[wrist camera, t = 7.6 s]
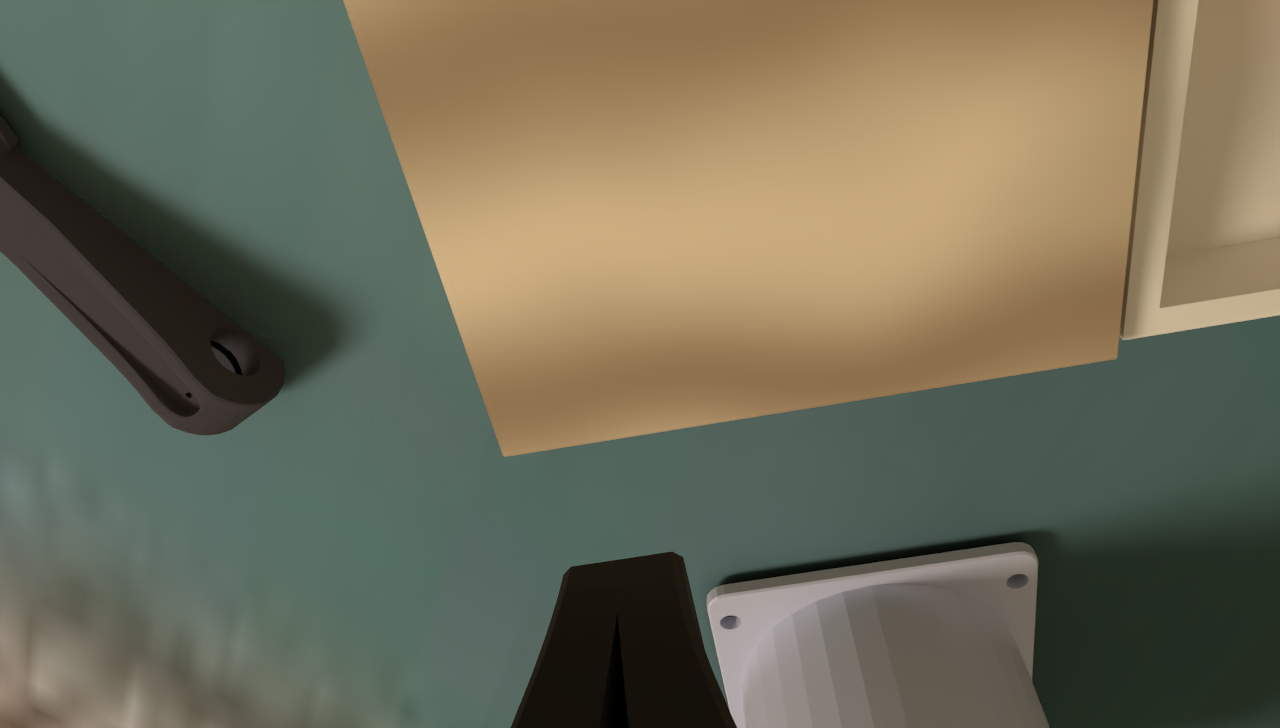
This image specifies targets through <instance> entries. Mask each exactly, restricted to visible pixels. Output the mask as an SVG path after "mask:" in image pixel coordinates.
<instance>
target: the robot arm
mask: <svg viewBox="0 0 1280 728" xmlns="http://www.w3.org/2000/svg"><path fill="white" fill-rule="evenodd" d="M1016 574H1018V575H1016ZM1013 575H1015V576H1013ZM1037 580H1038V559H1037V556H1036V554H1035V552H1034V549H1033V548H1032V547H1031V546H1030V545H1029V544H1026V543H1023V542H1011V543H1005V544H998V545H991V546H984V547H977V548H971V549H964V550H957V551H950V552H943V553H936V554H930V555H923V556H916V557H909V558H902V559H895V560H889V561H882V562H875V563H868V564H861V565H854V566H848V567H841V568H834V569H827V570H820V571H813V572H807V573H800V574H793V575H786V576H779V577H773V578H766V579H759V580H752V581H745V582H738V583H732V584H725V585H721V586H717V587H715V588H714V589H712V590H711V591H710V592H709V594H708V595H707V611H708V615H709V620H710V624H711V629H712V633H713V638H714V642H715V647H716V651H717V655H718V660H719V664H720V669H721V673H722V678H723V682H724V687H725V691H726V696H727V700H728V705H729V709H730V711H729V709H728V706H727V704H726V701H725V699H724V697H723V694H722V692H721V690H720V687H719V685H718V682H717V680H716V678H715V675H714V673H713V671H712V668H711V666H710V663H709V660H708V658H707V655H706V652H705V649H704V645H703V640H702V636H701V632H700V628H699V623H698V619H697V615H696V610H695V606H694V602H693V598H692V593H691V589H690V585H689V580H688V576H687V572H686V568H685V563H684V559H683V557H681V556H679V555H678V554H676V553H674V552H667V553H660V554H654V555H647V556H640V557H634V558H627V559H620V560H614V561H607V562H600V563H594V564H587V565H580V566H574V567H570V568H569V570H568V571H567V572H566V573H565V574H564V576H563V579H562V583H561V587H560V591H559V595H558V598H557V602H556V605H555V608H554V612H553V615H552V618H551V621H550V625H549V628H548V631H547V634H546V637H545V640H544V642H543V645H542V648H541V651H540V654H539V657H538V659H537V662H536V665H535V668H534V671H533V673H532V676H531V678H530V681H529V683H528V686H527V688H526V691H525V693H524V696H523V698H522V701H521V703H520V706H519V708H518V711H517V713H516V716H515V718H514V721H513V723H512V726H511V728H1050V727H1049V724H1048V722H1047V719H1046V716H1045V714H1044V711H1043V709H1042V706H1041V704H1040V701H1039V698H1038V696H1037V693H1036V691H1035V688H1034V686H1033V683H1032V672H1033V653H1034V635H1035V617H1036V598H1037ZM729 615H731V616H732V617H726V616H729Z"/></svg>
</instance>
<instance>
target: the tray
mask: <svg viewBox="0 0 1280 728" xmlns="http://www.w3.org/2000/svg"><path fill="white" fill-rule="evenodd" d="M1277 315H1280V0H1153V9H1152V19H1151V29H1150V38H1149V48H1148V58H1147V68H1146V78H1145V88H1144V97H1143V107H1142V117H1141V127H1140V137H1139V146H1138V156H1137V166H1136V176H1135V186H1134V196H1133V205H1132V215H1131V225H1130V235H1129V245H1128V255H1127V264H1126V274H1125V284H1124V294H1123V304H1122V314H1121V323H1120V333H1119V335H1120V337H1121V338H1122V340H1128V339H1134V338H1140V337H1147V336H1153V335H1159V334H1165V333H1171V332H1178V331H1184V330H1190V329H1196V328H1202V327H1209V326H1215V325H1221V324H1227V323H1233V322H1240V321H1246V320H1252V319H1258V318H1264V317H1271V316H1277Z"/></svg>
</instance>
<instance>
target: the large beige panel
mask: <svg viewBox="0 0 1280 728" xmlns="http://www.w3.org/2000/svg"><path fill="white" fill-rule="evenodd" d="M343 1H344V4H345V7H346V9H347V12H348V15H349V18H350V21H351V24H352V26H353V29H354V32H355V35H356V38H357V41H358V44H359V46H360V49H361V52H362V55H363V58H364V61H365V64H366V66H367V69H368V72H369V75H370V78H371V81H372V83H373V86H374V89H375V92H376V95H377V98H378V101H379V103H380V106H381V109H382V112H383V115H384V118H385V121H386V123H387V126H388V129H389V132H390V135H391V138H392V140H393V143H394V146H395V149H396V152H397V155H398V158H399V160H400V163H401V166H402V169H403V172H404V175H405V178H406V180H407V183H408V186H409V189H410V192H411V195H412V197H413V200H414V203H415V206H416V209H417V212H418V215H419V217H420V220H421V223H422V226H423V229H424V232H425V235H426V237H427V240H428V243H429V246H430V249H431V252H432V254H433V257H434V260H435V263H436V266H437V269H438V272H439V274H440V277H441V280H442V283H443V286H444V289H445V292H446V294H447V297H448V300H449V303H450V306H451V309H452V311H453V314H454V317H455V320H456V323H457V326H458V329H459V331H460V334H461V337H462V340H463V343H464V346H465V349H466V351H467V354H468V357H469V360H470V363H471V366H472V368H473V371H474V374H475V377H476V380H477V383H478V386H479V388H480V391H481V394H482V397H483V400H484V403H485V406H486V408H487V411H488V414H489V417H490V420H491V423H492V425H493V428H494V431H495V434H496V437H497V440H498V443H499V445H500V448H501V451H502V454H503V457H507V456H513V455H519V454H525V453H532V452H538V451H544V450H550V449H557V448H563V447H569V446H575V445H582V444H588V443H594V442H600V441H607V440H613V439H619V438H625V437H632V436H638V435H644V434H650V433H657V432H663V431H669V430H675V429H682V428H688V427H694V426H700V425H707V424H713V423H719V422H725V421H732V420H738V419H744V418H750V417H757V416H763V415H769V414H775V413H782V412H788V411H794V410H800V409H807V408H813V407H819V406H825V405H832V404H838V403H844V402H850V401H857V400H863V399H869V398H875V397H882V396H888V395H894V394H900V393H906V392H913V391H919V390H925V389H931V388H938V387H944V386H950V385H956V384H963V383H969V382H975V381H981V380H988V379H994V378H1000V377H1006V376H1013V375H1019V374H1025V373H1031V372H1038V371H1044V370H1050V369H1056V368H1063V367H1069V366H1075V365H1081V364H1088V363H1094V362H1100V361H1106V360H1113V359H1117V353H1118V343H1119V333H1120V323H1121V314H1122V304H1123V294H1124V284H1125V274H1126V264H1127V255H1128V245H1129V235H1130V225H1131V215H1132V205H1133V196H1134V186H1135V176H1136V166H1137V156H1138V146H1139V137H1140V127H1141V117H1142V107H1143V97H1144V88H1145V78H1146V68H1147V58H1148V48H1149V38H1150V29H1151V19H1152V9H1153V0H343Z"/></svg>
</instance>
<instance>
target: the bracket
mask: <svg viewBox="0 0 1280 728" xmlns="http://www.w3.org/2000/svg"><path fill="white" fill-rule="evenodd" d="M17 144H18V138H17V137H16V135H15V134H14V133H13V131H12V130H11V128H10V127H9V126H8V124H7V123H6V122H5V120H4V119H3V118H2V117H1V115H0V252H2V253H3V254H4V255H5V256H6V257H7V258H8V259H9V260H10V261H12V262H13V263H14V264H15V265H16V266H17V267H18V268H19V269H20V270H21V271H22V272H23V273H24V274H25V275H26V276H27V277H28V278H29V280H30V281H31V282H32V283H33V284H34V285H35V286H36V287H37V288H38V289H39V290H40V291H41V292H42V293H43V294H44V295H45V296H46V297H47V298H48V299H49V300H50V301H51V302H52V303H53V304H54V305H55V306H56V307H57V308H58V309H59V310H60V311H61V312H62V313H63V314H64V315H65V316H66V317H67V318H68V319H69V320H70V321H71V322H72V323H73V324H74V325H75V326H76V327H77V328H78V329H79V330H80V331H81V332H82V333H83V334H84V335H85V336H86V337H87V338H88V339H89V340H90V341H91V342H92V343H93V344H94V345H95V346H96V347H97V348H98V349H99V350H100V351H101V352H102V353H103V354H104V355H105V356H106V357H107V358H108V360H109V361H110V362H111V363H112V364H113V365H114V366H115V367H116V368H117V369H118V370H119V371H120V372H121V373H122V374H123V375H124V376H125V377H126V379H127V380H128V381H129V382H130V383H131V384H132V385H133V387H134V388H135V389H136V390H137V391H138V393H139V394H140V395H141V396H142V398H143V399H144V400H145V401H146V403H147V404H148V405H149V406H150V408H151V409H152V410H153V411H154V412H155V413H157V414H158V415H159V416H160V417H161V418H162V419H163V420H164V421H165V422H166V423H167V424H169V425H170V426H172V427H173V428H176V429H179V430H181V431H184V432H187V433H192V434H197V435H214V434H220V433H223V432H226V431H228V430H231V429H233V428H234V427H236V426H237V425H238V424H240V423H241V422H242V421H244V420H245V419H246V418H248V417H249V416H250V415H252V414H253V413H254V412H256V411H257V410H259V409H260V408H261V407H263V406H264V405H265V404H267V403H268V402H269V401H271V400H272V399H273V398H274V397H275V396H277V394H278V393H279V391H280V389H281V387H282V385H283V380H284V368H283V362H282V361H281V360H280V359H278V358H277V357H276V356H275V355H274V354H272V353H271V352H270V351H269V350H267V349H266V348H265V347H264V346H263V345H261V344H260V343H259V342H258V341H256V340H255V339H254V338H253V337H251V336H250V335H249V334H248V333H246V332H245V331H244V330H243V329H241V328H240V327H239V326H238V325H236V324H235V323H234V322H233V321H231V320H230V319H229V318H228V317H227V316H225V315H224V314H223V313H222V312H220V311H219V310H218V309H217V308H215V307H214V306H213V305H212V304H210V303H209V302H208V301H207V300H205V299H204V298H203V297H202V296H200V295H199V294H198V293H197V292H195V291H194V290H193V289H192V288H191V287H189V286H188V285H187V284H186V283H184V282H183V281H182V280H181V279H179V278H178V277H177V276H176V275H174V274H173V273H172V272H171V271H169V270H168V269H167V268H166V267H164V266H163V265H162V264H161V263H159V262H158V261H157V260H156V259H155V258H153V257H152V256H151V255H150V254H148V253H147V252H146V251H145V250H143V249H142V248H141V247H140V246H138V245H137V244H136V243H135V242H133V241H132V240H131V239H130V238H128V237H127V236H126V235H125V234H123V233H122V232H121V231H120V230H119V229H117V228H116V227H115V226H114V225H112V224H111V223H110V222H109V221H107V220H106V219H105V218H104V217H102V216H101V215H100V214H99V213H97V212H96V211H95V210H94V209H92V208H91V207H90V206H89V205H87V204H86V203H85V202H84V201H83V200H81V199H80V198H79V197H78V196H76V195H75V194H74V193H73V192H71V191H70V190H69V189H68V188H66V187H65V186H64V185H63V184H61V183H60V182H59V181H58V180H56V179H55V178H54V177H53V176H51V175H50V174H49V173H48V172H47V171H45V170H44V169H43V168H42V167H40V166H39V165H38V164H37V163H35V162H34V161H33V160H32V159H30V158H29V157H28V156H27V155H26V154H24V153H23V152H22V151H21V150H20V149H19V148H17V147H16V145H17ZM210 340H212V341H215V342H218V343H220V344H222V345H223V346H225V347H226V348H227V349H228V350H230V351H231V353H232V354H233V355H234V356H235V357H236V359H237V361H238V363H239V365H240V367H241V371H242V375H239V374H236V373H235V370H234V368H233V366H232V364H231V362H230V361H229V360H228V358H227V357H226V356H225V355H224V354H223V353H221V352H220V351H219V350H218V349H216V348H214V347H212V346H211V343H210Z"/></svg>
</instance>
